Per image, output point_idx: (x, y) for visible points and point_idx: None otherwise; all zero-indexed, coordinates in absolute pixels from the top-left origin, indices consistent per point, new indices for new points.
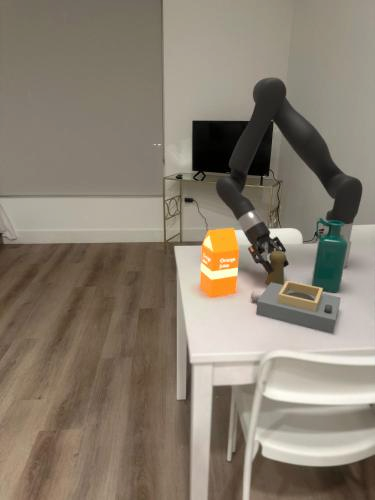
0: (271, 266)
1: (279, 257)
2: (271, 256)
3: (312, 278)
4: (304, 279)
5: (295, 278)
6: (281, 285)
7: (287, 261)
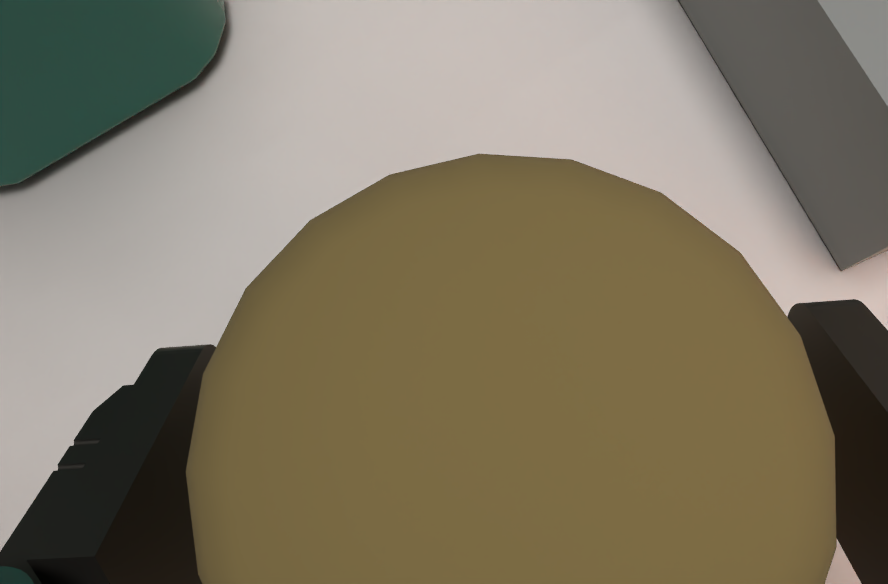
0: (866, 361)
1: (695, 221)
2: (833, 541)
3: (107, 53)
4: (45, 278)
5: (106, 374)
6: (882, 25)
7: (143, 383)
